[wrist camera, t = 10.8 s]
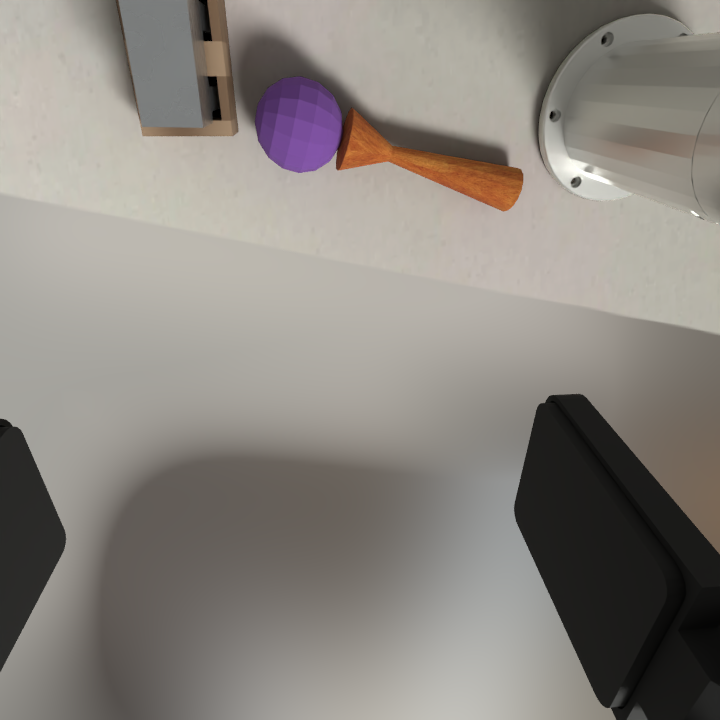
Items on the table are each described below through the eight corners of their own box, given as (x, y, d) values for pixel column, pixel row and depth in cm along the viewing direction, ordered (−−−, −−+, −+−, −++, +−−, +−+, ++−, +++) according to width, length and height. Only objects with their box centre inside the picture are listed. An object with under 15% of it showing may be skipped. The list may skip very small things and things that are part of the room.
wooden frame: (222, -21, 32) (213, -30, 29) (238, 131, 36) (232, 136, 33) (126, -24, 31) (109, -33, 29) (155, 131, 36) (142, 136, 33)
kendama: (504, 241, 38) (246, 172, 33) (482, 208, 43) (251, 142, 37) (545, 167, 35) (262, 75, 29) (516, 139, 39) (266, 54, 33)
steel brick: (208, -5, 32) (183, -24, 26) (221, 119, 36) (203, 127, 30) (151, -8, 32) (113, -27, 26) (171, 118, 35) (141, 126, 29)
